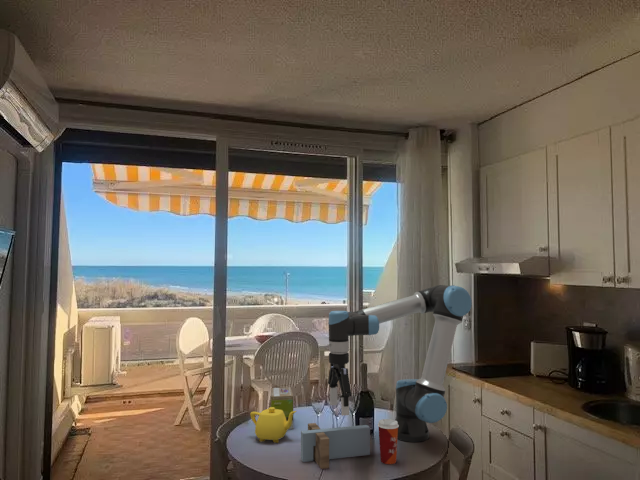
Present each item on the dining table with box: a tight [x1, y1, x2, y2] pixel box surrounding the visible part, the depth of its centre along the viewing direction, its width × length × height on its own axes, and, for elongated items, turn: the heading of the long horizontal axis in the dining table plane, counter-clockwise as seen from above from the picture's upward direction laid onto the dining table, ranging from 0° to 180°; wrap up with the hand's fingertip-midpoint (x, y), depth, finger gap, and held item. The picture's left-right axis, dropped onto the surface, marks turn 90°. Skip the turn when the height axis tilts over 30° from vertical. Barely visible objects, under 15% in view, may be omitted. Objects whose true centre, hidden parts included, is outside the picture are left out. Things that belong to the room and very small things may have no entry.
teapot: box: [249, 406, 297, 444], centre depth 194 cm, size 13×20×12 cm
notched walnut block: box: [307, 422, 330, 470], centre depth 173 cm, size 18×3×10 cm, turn 16°
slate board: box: [300, 424, 371, 463], centre depth 175 cm, size 26×3×10 cm, turn 106°
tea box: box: [270, 386, 294, 430], centre depth 212 cm, size 15×10×15 cm
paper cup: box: [377, 418, 399, 465], centre depth 171 cm, size 8×8×14 cm
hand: (339, 409), depth 176 cm, fingers open, 13 cm apart
